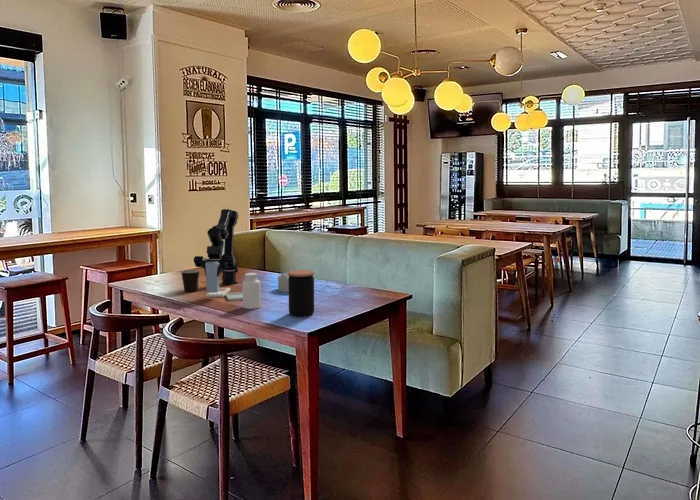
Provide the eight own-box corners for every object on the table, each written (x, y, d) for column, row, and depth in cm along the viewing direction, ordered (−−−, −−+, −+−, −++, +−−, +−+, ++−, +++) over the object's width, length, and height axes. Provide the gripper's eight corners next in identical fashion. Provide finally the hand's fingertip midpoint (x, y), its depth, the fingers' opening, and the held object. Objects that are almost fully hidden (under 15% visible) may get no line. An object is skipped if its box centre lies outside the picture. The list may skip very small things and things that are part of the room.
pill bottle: (243, 305, 250) (243, 272, 248) (261, 305, 251) (261, 272, 249) (241, 309, 242) (241, 275, 240) (260, 309, 243) (259, 275, 241)
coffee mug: (195, 293, 274) (194, 273, 273) (178, 292, 276) (178, 272, 275) (205, 288, 286) (204, 269, 284) (190, 287, 287) (189, 268, 286)
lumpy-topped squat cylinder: (291, 293, 274) (291, 276, 273) (273, 290, 282) (272, 273, 281) (306, 290, 282) (305, 273, 281) (287, 286, 290) (287, 270, 289)
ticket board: (214, 289, 283) (214, 287, 283) (230, 289, 283) (230, 287, 282) (206, 296, 266) (206, 294, 266) (223, 296, 266) (222, 294, 266)
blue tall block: (209, 290, 266) (208, 261, 264) (219, 290, 266) (218, 261, 264) (206, 292, 261) (205, 263, 259) (217, 292, 261) (216, 263, 259)
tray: (225, 295, 269) (225, 293, 269) (249, 294, 273) (249, 291, 273) (228, 300, 258) (228, 298, 258) (253, 299, 262) (253, 296, 262)
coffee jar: (299, 309, 242) (299, 269, 240) (319, 313, 236) (319, 271, 234) (283, 314, 234) (283, 272, 231) (303, 318, 228) (302, 275, 225)
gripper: (193, 239, 264) (187, 266, 254) (233, 239, 264) (228, 266, 254) (198, 253, 273) (193, 279, 263) (236, 253, 272) (232, 279, 263)
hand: (211, 276), depth 261 cm, fingers closed on blue tall block, 5 cm apart
